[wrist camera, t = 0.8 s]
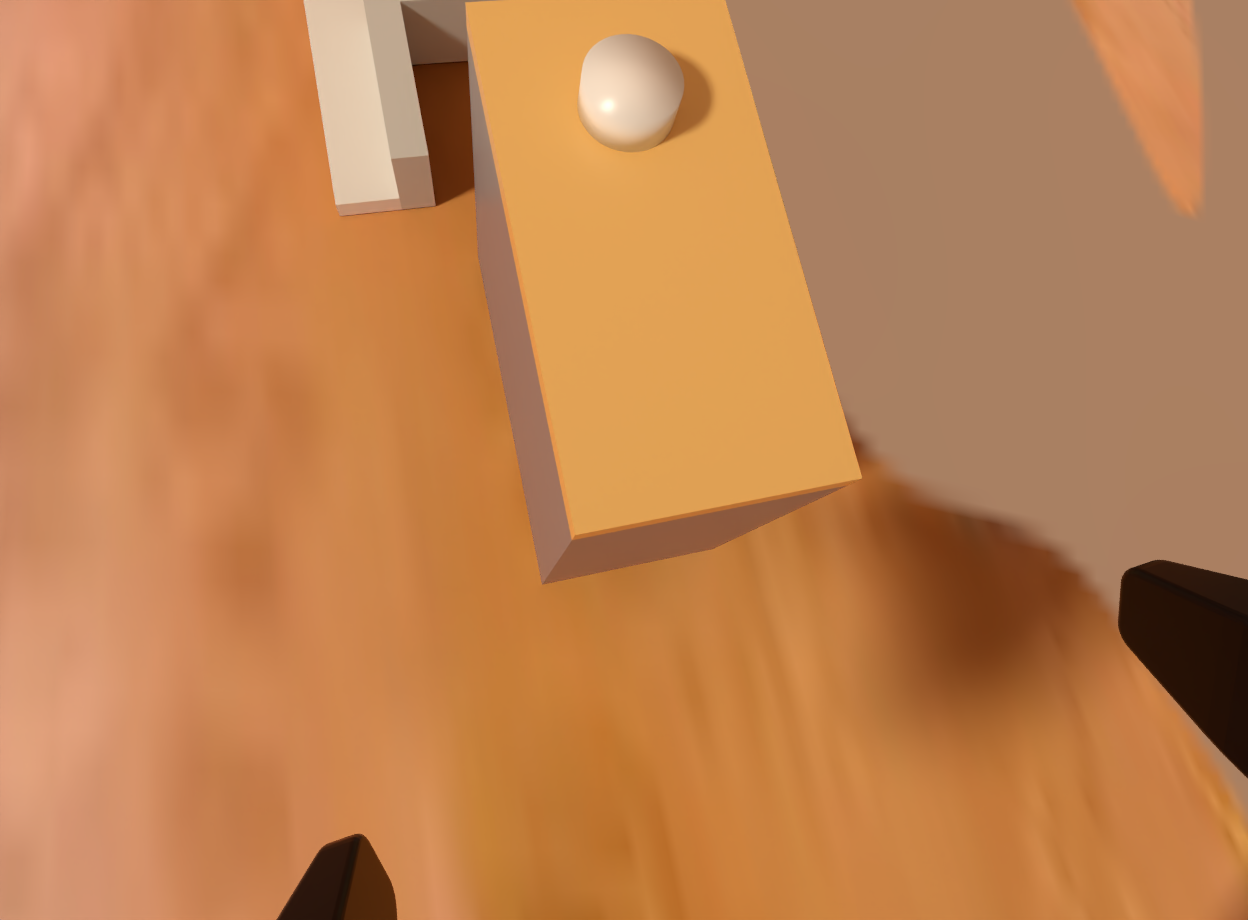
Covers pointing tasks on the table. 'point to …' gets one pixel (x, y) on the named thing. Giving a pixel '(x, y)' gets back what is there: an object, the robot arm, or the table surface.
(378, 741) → the table surface
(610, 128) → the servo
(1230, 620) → the robot arm
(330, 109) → the bracket
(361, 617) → the table surface
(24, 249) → the table surface
